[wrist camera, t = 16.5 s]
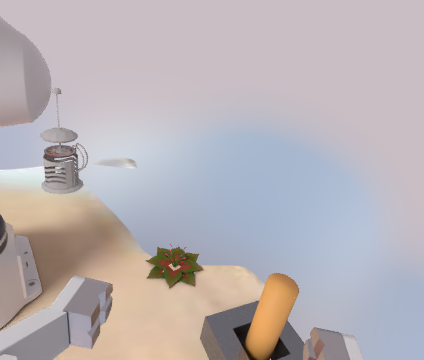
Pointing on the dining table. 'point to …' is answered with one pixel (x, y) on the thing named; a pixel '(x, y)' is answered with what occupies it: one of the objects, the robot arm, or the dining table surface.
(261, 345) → the orange cylinder
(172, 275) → the green flowering plant
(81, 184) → the french press
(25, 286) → the robot arm
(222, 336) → the gray square socket block
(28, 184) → the dining table surface
